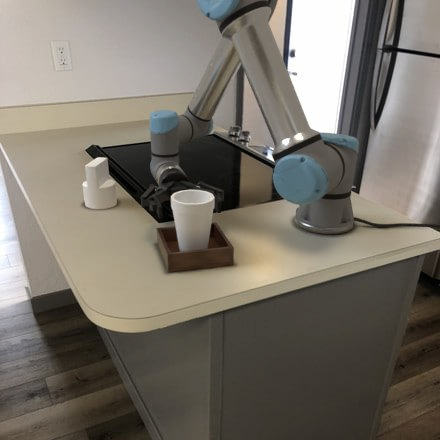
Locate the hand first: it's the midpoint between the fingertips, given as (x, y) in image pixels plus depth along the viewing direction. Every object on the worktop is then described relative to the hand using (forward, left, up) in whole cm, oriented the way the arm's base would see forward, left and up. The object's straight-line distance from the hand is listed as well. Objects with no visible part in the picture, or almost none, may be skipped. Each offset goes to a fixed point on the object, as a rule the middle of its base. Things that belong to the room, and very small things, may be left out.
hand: (190, 210), depth 110 cm
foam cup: (-1, +3, -9) cm, 9 cm away
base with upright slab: (+32, -24, -10) cm, 41 cm away
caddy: (-1, +3, -10) cm, 10 cm away
